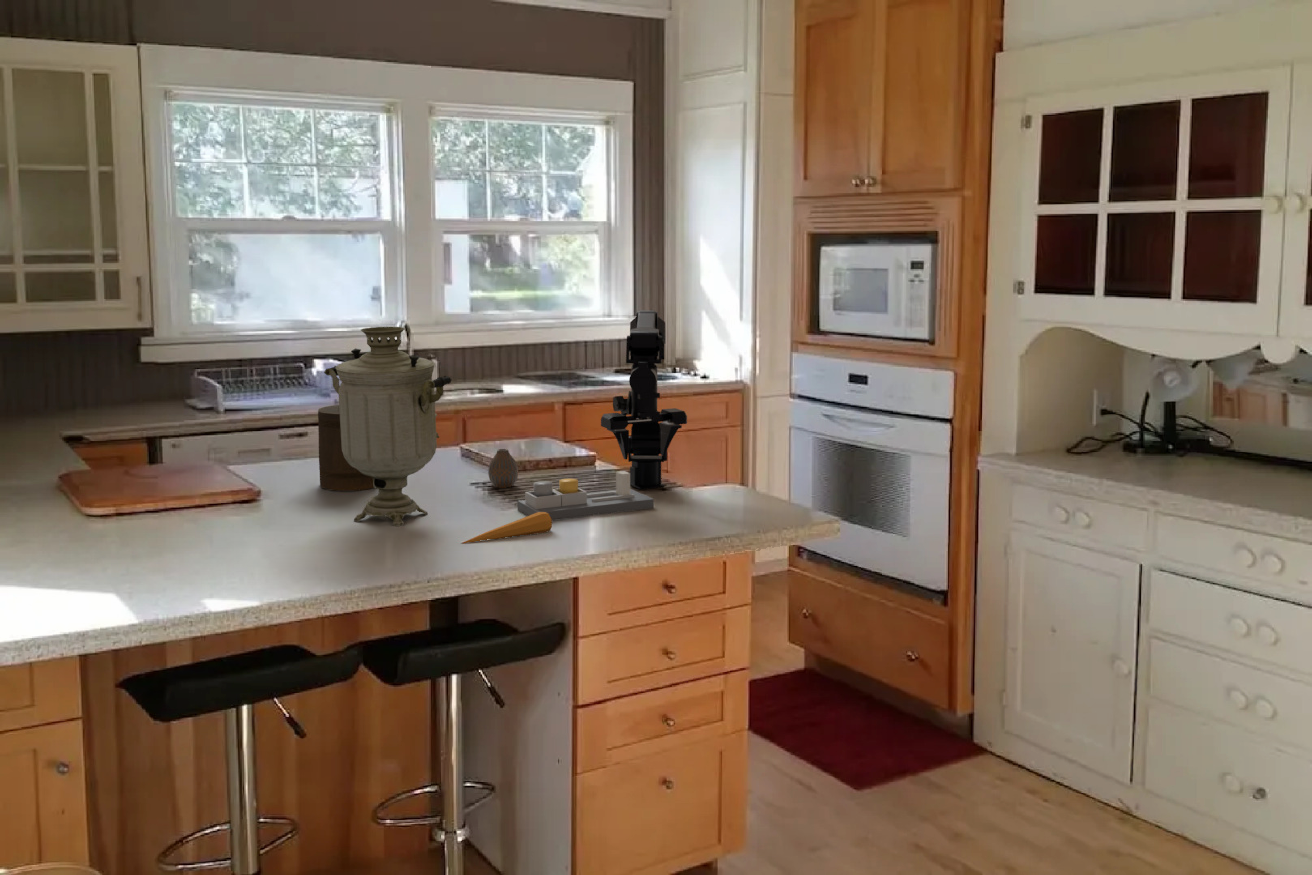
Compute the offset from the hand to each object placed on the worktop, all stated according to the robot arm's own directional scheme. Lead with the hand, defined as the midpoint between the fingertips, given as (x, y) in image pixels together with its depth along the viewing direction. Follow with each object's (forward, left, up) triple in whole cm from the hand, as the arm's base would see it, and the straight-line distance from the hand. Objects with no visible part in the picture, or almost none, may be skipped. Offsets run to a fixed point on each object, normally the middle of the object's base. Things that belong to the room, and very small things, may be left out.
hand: (644, 457), depth 277 cm
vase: (+22, -29, -10) cm, 38 cm away
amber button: (+18, 0, -6) cm, 19 cm away
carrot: (+38, +14, -10) cm, 42 cm away
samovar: (+51, -12, -10) cm, 54 cm away
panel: (+14, 0, -10) cm, 18 cm away
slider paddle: (+5, 0, -8) cm, 10 cm away
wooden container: (+53, -47, -10) cm, 72 cm away
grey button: (+24, 0, -6) cm, 25 cm away
